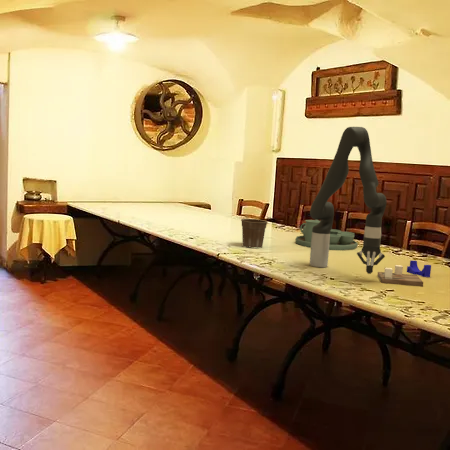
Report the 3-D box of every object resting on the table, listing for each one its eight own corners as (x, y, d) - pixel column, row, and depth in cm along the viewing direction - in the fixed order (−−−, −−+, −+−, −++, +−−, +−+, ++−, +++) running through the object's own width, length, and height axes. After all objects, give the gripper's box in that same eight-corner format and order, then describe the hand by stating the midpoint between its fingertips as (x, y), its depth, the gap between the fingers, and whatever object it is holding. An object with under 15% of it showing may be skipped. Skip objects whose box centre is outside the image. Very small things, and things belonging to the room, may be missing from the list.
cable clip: (406, 272, 263) (407, 260, 262) (413, 272, 264) (415, 260, 263) (422, 277, 251) (423, 265, 251) (429, 277, 253) (431, 265, 252)
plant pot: (271, 248, 312) (273, 221, 310) (251, 249, 302) (252, 222, 300) (254, 243, 325) (255, 218, 323) (234, 245, 315) (235, 219, 313)
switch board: (377, 275, 249) (377, 271, 249) (416, 279, 246) (416, 274, 246) (381, 282, 234) (382, 278, 234) (422, 286, 231) (423, 281, 231)
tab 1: (384, 276, 238) (384, 267, 238) (390, 276, 238) (391, 268, 237) (385, 277, 235) (385, 268, 235) (391, 278, 235) (392, 269, 234)
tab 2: (394, 273, 246) (395, 265, 245) (400, 273, 245) (401, 265, 245) (395, 274, 243) (396, 266, 242) (402, 275, 243) (402, 266, 242)
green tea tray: (354, 253, 312) (357, 226, 310) (289, 246, 325) (291, 220, 323) (359, 244, 350) (361, 220, 348) (300, 238, 362) (302, 215, 360)
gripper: (386, 236, 238) (382, 273, 240) (356, 234, 240) (353, 270, 242) (388, 238, 231) (384, 276, 233) (358, 236, 233) (355, 273, 235)
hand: (369, 273), depth 237 cm, fingers closed
